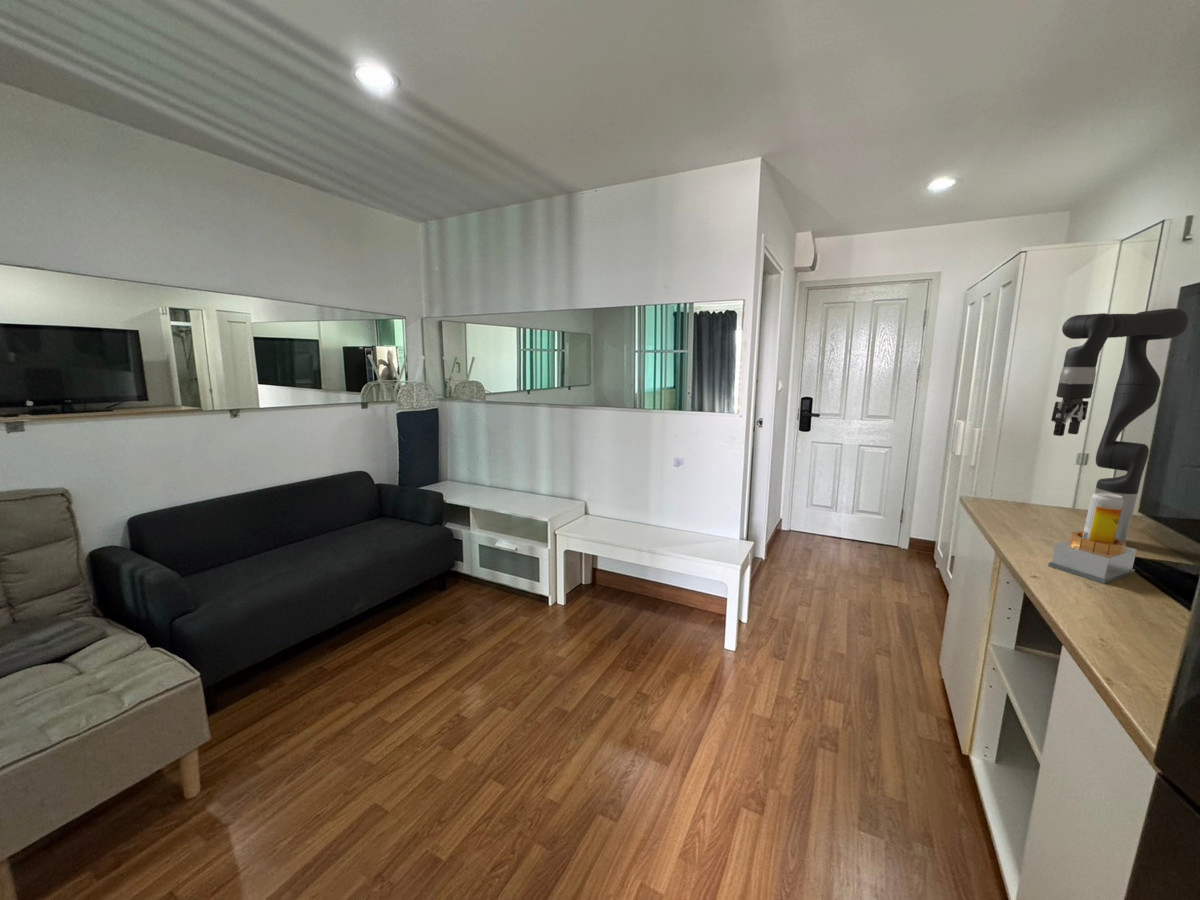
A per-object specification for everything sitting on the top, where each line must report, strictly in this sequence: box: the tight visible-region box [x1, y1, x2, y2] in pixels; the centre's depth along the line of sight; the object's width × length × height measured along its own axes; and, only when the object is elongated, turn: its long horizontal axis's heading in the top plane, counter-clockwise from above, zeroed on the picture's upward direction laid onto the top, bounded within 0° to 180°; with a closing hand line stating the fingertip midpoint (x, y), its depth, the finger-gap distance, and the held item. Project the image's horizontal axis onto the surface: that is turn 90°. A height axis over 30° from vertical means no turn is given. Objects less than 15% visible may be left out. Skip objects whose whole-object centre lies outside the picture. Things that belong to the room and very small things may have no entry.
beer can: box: [1082, 491, 1124, 544], centre depth 129 cm, size 6×6×15 cm
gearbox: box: [1047, 530, 1138, 585], centre depth 132 cm, size 21×12×10 cm, turn 113°
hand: (1065, 434), depth 143 cm, fingers open, 8 cm apart
